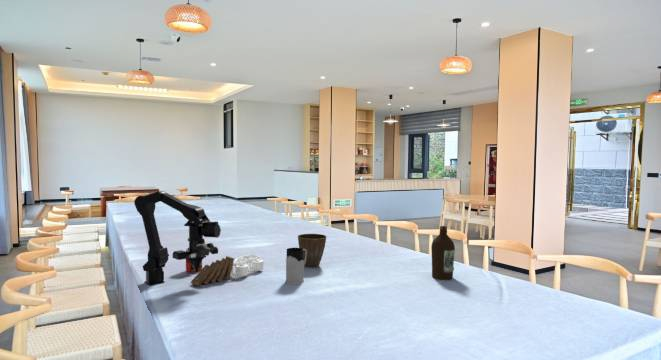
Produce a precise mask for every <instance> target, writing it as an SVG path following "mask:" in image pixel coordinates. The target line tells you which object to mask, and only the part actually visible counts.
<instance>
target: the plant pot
mask: <svg viewBox="0 0 661 360" xmlns="http://www.w3.org/2000/svg"><path fill="white" fill-rule="evenodd" d="M326 241H327V235H325V234H322V233H321V234H319V233H303V234H298V235H297V242H298V248H302V249H306V251H307V257H306V262H305V265H304V267H305V268H310V269H311V268H313V269H314V267H315V268H318V267H319V266H320V264H321V262H322V261H321V260H322V258H323V256H324V251H325V247H326V243H327V242H326ZM303 260H305V250H303Z"/></svg>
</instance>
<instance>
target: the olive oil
mask: <svg viewBox="0 0 661 360" xmlns="http://www.w3.org/2000/svg"><path fill="white" fill-rule="evenodd" d="M447 228H448V226H447V225H440V226H439V234H438V235H437V236H436V237H434V239H433V240H432V242H431V247H430V249H431V276H432V277H431V278H433V279H435V280H439V281H450V280H453V279H454V271H455V267H454V264H455V262H454V261H455V251H456V247H455V242H454V241H453V240H452V238H451V237H449V235H448V229H447Z"/></svg>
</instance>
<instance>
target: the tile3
mask: <svg viewBox="0 0 661 360" xmlns="http://www.w3.org/2000/svg"><path fill="white" fill-rule="evenodd" d="M214 262H215V263H217V264H219V265H220V267H219V269H218V270H217V271H216V273H215V274H214V276H213V277H212V278H211V280H210V281H209V282H210V283H212V284H215V283H216V281H217V280H216V279H217V278H218V276H219V274H220V272H221V270H222V268H223V267H224V265H225V262H223V261H221V260H219V259H216V260H215V261H214Z"/></svg>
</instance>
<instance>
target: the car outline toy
mask: <svg viewBox="0 0 661 360" xmlns="http://www.w3.org/2000/svg"><path fill="white" fill-rule="evenodd" d="M260 257H261V256H260V255H257V254H246V255H242V256H239V257H236V258H235V259H234V261H233V266H232V271H231V275H230V278H231V279H240V278H245V277H246V276H248V275H252V274H255V273H257V272H259V271H263V270H264V260H263V259H260ZM249 258H251V259H249ZM245 259H246V260H245Z"/></svg>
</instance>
